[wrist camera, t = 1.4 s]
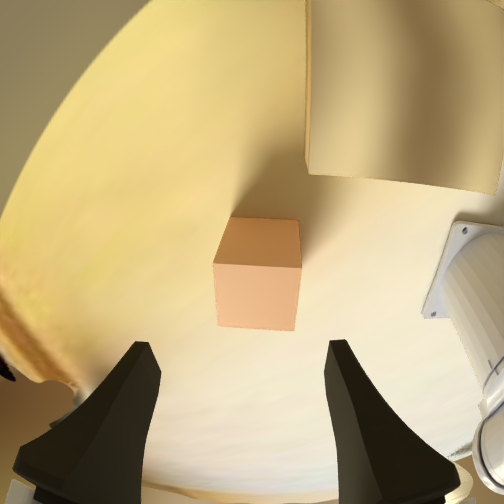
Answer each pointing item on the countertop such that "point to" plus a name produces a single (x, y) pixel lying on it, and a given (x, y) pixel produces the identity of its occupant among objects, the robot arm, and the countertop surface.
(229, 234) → the terracotta block
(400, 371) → the countertop surface
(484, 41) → the beech block
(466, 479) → the spinning top
